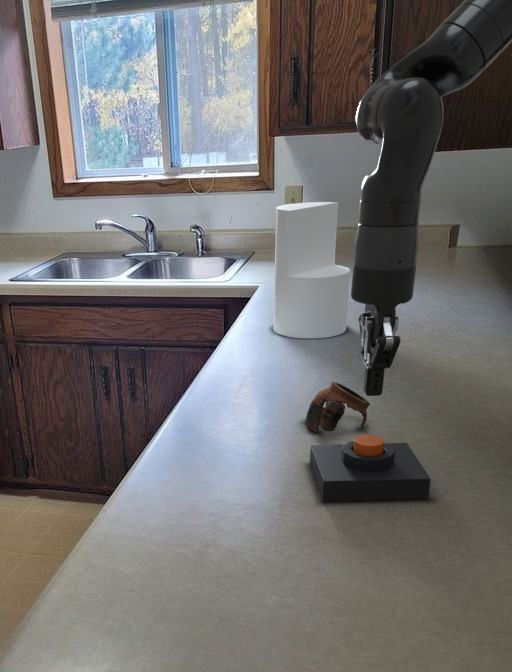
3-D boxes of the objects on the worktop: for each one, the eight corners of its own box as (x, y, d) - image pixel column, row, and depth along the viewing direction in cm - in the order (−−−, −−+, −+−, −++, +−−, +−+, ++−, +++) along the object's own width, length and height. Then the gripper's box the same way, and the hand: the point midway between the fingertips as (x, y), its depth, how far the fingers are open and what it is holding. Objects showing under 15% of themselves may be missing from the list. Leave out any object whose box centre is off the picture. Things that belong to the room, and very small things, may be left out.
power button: (379, 445, 104) (380, 434, 104) (386, 457, 101) (387, 445, 100) (350, 446, 105) (351, 435, 104) (356, 458, 101) (357, 446, 100)
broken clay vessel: (303, 416, 129) (329, 375, 126) (351, 445, 127) (377, 404, 125) (294, 425, 118) (321, 380, 115) (345, 456, 116) (375, 411, 113)
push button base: (404, 462, 110) (408, 431, 107) (428, 499, 99) (432, 466, 97) (309, 464, 110) (311, 433, 108) (322, 502, 100) (324, 469, 98)
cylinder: (258, 330, 180) (260, 208, 167) (303, 316, 190) (308, 200, 177) (315, 342, 168) (322, 212, 155) (360, 327, 178) (370, 203, 165)
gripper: (431, 270, 85) (414, 411, 93) (401, 251, 97) (388, 377, 105) (365, 272, 86) (353, 412, 93) (344, 253, 97) (335, 379, 105)
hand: (372, 393), depth 99 cm, fingers closed
